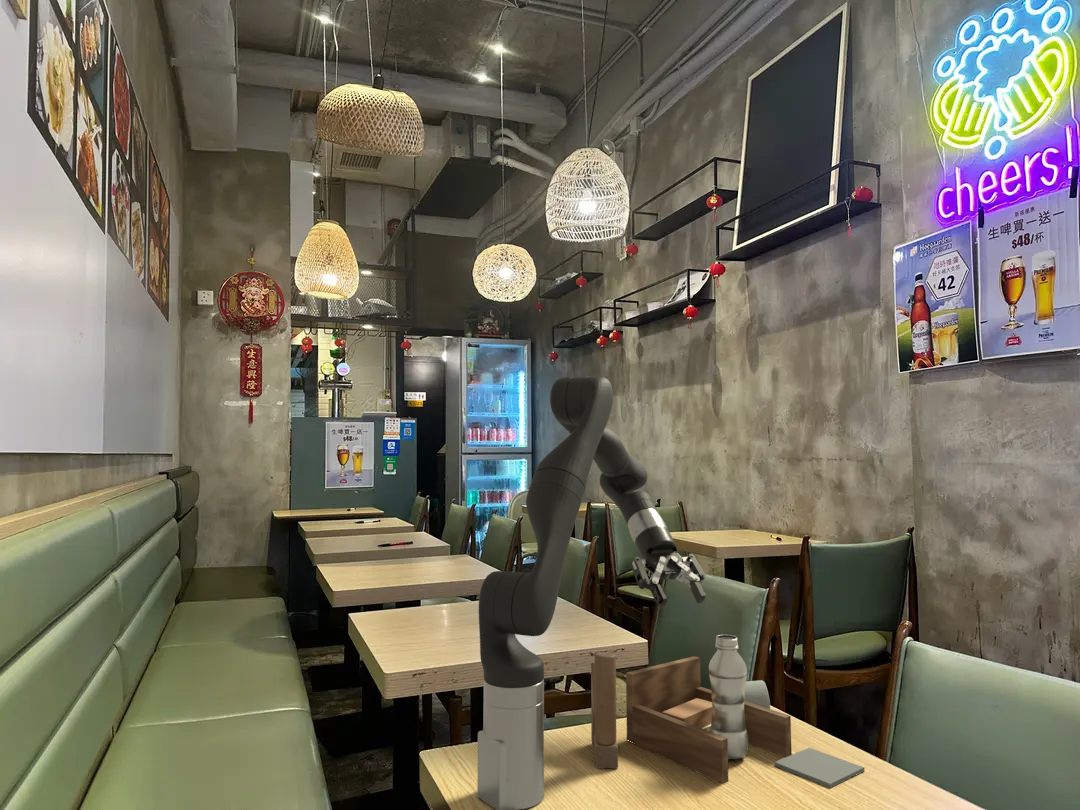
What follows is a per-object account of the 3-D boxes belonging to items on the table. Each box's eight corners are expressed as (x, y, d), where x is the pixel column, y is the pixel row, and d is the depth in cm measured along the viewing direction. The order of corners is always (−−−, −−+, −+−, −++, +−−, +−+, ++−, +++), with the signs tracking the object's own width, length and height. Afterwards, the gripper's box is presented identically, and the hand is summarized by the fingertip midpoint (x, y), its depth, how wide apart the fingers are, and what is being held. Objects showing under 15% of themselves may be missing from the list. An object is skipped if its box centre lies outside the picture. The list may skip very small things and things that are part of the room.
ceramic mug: (721, 713, 143) (720, 674, 143) (762, 714, 142) (761, 675, 143) (731, 735, 132) (730, 692, 133) (776, 736, 132) (775, 693, 132)
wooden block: (611, 743, 128) (610, 640, 129) (618, 769, 117) (617, 657, 118) (590, 743, 128) (590, 640, 129) (596, 769, 117) (595, 657, 118)
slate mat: (830, 787, 110) (830, 783, 110) (774, 765, 118) (774, 762, 118) (864, 771, 116) (864, 767, 116) (809, 751, 124) (809, 747, 124)
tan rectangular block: (680, 756, 123) (679, 720, 123) (656, 746, 127) (656, 711, 127) (722, 738, 130) (721, 705, 131) (698, 730, 134) (698, 697, 135)
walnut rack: (722, 783, 112) (720, 704, 113) (626, 740, 129) (626, 672, 130) (791, 754, 123) (789, 683, 124) (695, 718, 140) (694, 656, 141)
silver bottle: (701, 752, 123) (699, 635, 125) (732, 746, 126) (729, 631, 128) (725, 767, 118) (723, 643, 119) (757, 760, 120) (754, 639, 122)
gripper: (627, 525, 142) (658, 593, 131) (687, 523, 148) (722, 588, 136) (614, 549, 147) (643, 617, 135) (673, 546, 152) (706, 611, 141)
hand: (683, 602), depth 136 cm, fingers open, 8 cm apart
